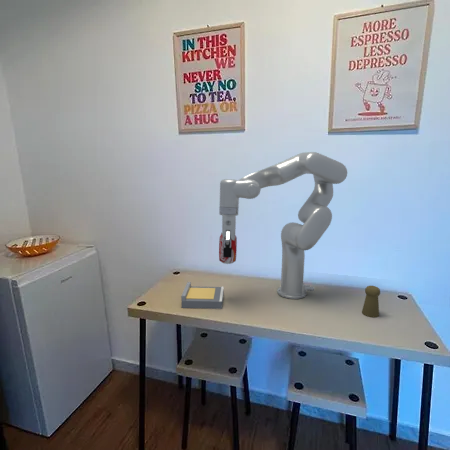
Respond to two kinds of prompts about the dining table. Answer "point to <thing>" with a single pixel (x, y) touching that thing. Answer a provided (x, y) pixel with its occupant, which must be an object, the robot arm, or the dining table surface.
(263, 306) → the dining table surface
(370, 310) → the cork
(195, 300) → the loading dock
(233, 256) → the soda can
